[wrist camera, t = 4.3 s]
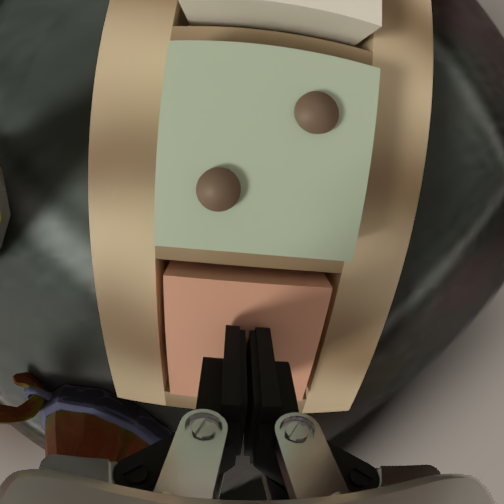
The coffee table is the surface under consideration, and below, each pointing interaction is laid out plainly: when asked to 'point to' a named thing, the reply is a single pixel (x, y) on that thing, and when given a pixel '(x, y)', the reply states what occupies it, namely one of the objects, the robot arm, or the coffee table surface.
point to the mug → (85, 420)
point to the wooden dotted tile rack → (158, 257)
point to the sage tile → (263, 149)
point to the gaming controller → (3, 208)
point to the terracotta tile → (240, 316)
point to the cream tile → (292, 16)
